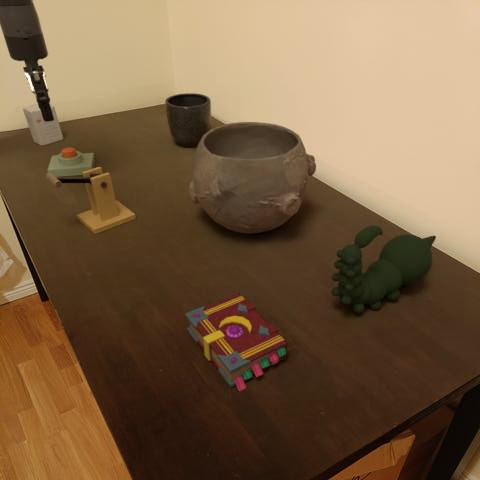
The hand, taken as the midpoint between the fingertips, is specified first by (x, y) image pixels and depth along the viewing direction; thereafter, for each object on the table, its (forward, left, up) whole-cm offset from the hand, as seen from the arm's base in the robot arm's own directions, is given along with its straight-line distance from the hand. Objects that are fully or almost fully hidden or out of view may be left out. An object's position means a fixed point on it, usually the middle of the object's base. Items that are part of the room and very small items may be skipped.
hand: (46, 114), depth 98 cm
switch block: (-1, +18, -21) cm, 28 cm away
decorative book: (+34, -61, -21) cm, 72 cm away
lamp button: (-1, +18, -17) cm, 25 cm away
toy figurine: (+64, -52, -21) cm, 85 cm away
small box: (-11, +41, -21) cm, 48 cm away
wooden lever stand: (+10, -13, -21) cm, 26 cm away
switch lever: (+6, -15, -11) cm, 19 cm away
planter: (+35, +31, -21) cm, 51 cm away
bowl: (+44, -21, -21) cm, 53 cm away
